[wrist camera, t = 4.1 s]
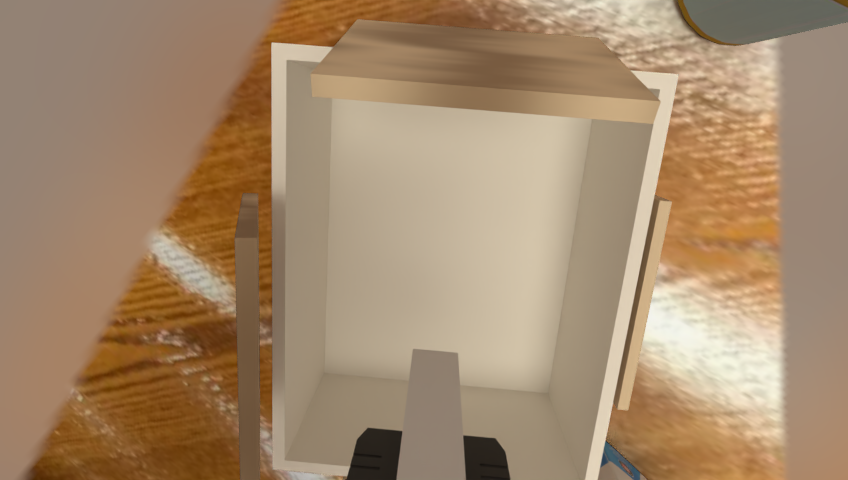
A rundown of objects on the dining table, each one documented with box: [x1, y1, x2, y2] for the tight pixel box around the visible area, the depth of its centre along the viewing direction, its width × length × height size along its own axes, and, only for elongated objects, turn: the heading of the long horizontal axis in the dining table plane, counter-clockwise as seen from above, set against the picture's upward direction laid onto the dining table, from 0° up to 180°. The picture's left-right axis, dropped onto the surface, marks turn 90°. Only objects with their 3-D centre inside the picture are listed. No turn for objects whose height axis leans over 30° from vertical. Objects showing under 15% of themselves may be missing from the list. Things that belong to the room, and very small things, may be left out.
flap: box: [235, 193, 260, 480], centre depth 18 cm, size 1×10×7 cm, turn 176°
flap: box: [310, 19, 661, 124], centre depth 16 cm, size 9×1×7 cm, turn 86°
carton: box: [272, 43, 679, 480], centre depth 26 cm, size 17×21×9 cm
